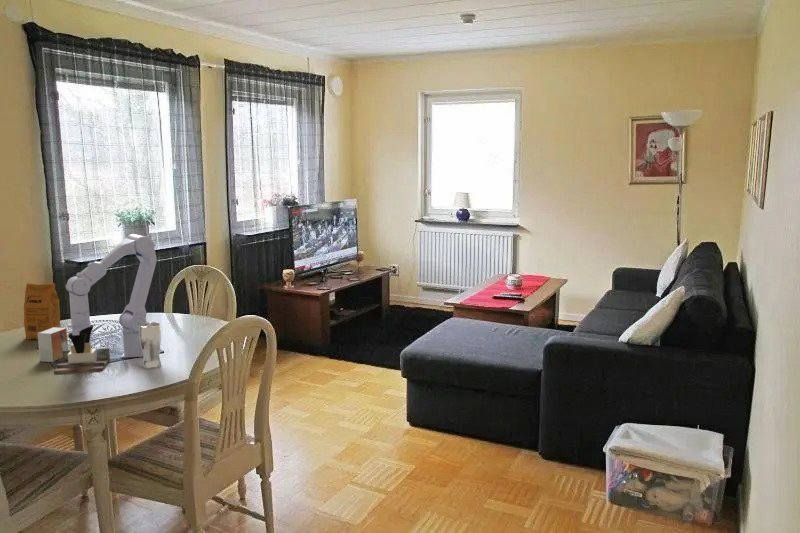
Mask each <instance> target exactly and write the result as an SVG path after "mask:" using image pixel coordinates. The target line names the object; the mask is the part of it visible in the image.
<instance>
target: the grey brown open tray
mask: <svg viewBox="0 0 800 533" xmlns="http://www.w3.org/2000/svg"><path fill="white" fill-rule="evenodd" d="M91 349H96V351H97V360H96V362H86V363H68V353H69V352H70V351H71V349H68V350H63V358H62V361H61V362H60V363H57V364H56V368H55V369H54V370H53V373H54V374H56V375H57V374H71V373H91V372H103V371H104V369H105V368H106V367H107V365H108V363H110V360H111V354H110V347H100V348H99V347H98V348H97V347H96V348H94V347H93V348H92V347H91Z"/></svg>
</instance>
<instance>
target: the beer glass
mask: <svg viewBox="0 0 800 533" xmlns="http://www.w3.org/2000/svg"><path fill="white" fill-rule="evenodd" d="M139 326H140V327H139V338H140V345H141V349H142V353H143V357H142V358H143V360H142V368H143V369H145V370H152V369H153V370H154V369H158V368H161V367H162V361H161V358H160V353H161V352H160V351H161V345H162V332H161V331H162V330H161V323H159V322H156V321H149V322H148V321H147V323H142V324H140V325H139Z"/></svg>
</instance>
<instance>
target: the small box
mask: <svg viewBox="0 0 800 533" xmlns="http://www.w3.org/2000/svg"><path fill="white" fill-rule="evenodd" d="M67 333H68V331H67V327H61V328H56V327H53V328H51V329H48V330H45V331H42V332H39V333H37V334H38V340H37V343H38V346H37V347H38V355H39V362H47V363H54V361H55V362H56V360H57V361H59V360H61V359H60V358H62V359H63V350H69V347H68V334H67ZM58 359H59V360H58Z"/></svg>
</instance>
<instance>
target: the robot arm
mask: <svg viewBox="0 0 800 533" xmlns="http://www.w3.org/2000/svg"><path fill="white" fill-rule="evenodd" d="M155 246H156V244H155V242H154V241H153V240H152V238H150V237H149V236H145V235H139V234H137V233H131V234H128V235H127V237H126V238H124V239H122V240H121V241H120V242H119V244H117V245H116V246H115V247H114V248H113V249H112V250H110V251H109V253H107V254H106V255H105V256H104V257H103V258H102V259H101V260H100V261H93V262H89V263H87V266H86V267H85V268H84V269H83V270H82V271H80V272H77V273H76V276H72V277H70V278H69V279H68V280H67V282H66V284H65V286H64V287H65V289H66V291H68V295H69V308H70V309H69V310H70V321H71V322H70V323H68V324H67V328H71V332H70V333H68V338H69V339H70V340H71V343H72V344H73V345H74V347H75V350H76V353H84V346H85V343H91V342H90V341H91V340H90V339H91V335H92V331H93V329H94V325H93V324H92V325H91V318H90V317H91V316H90V305H89V296H88V293H89V292H90V290H91V287H92V286H94V284H96V283H97V282H98V281H99V280H101V279H102V278H103V277H104V276H105V275H106V274H107V272H108V271H107V270H108V269H109V268H110V267H111V266H112V265H114V264H115V263H116V262H118V261H119V260H120V259H122V258H123V257H124V256H126V255H127V256H128V255H135V256H136V258H137V259H138V261H139V266H138V269H137V273H136V277H135V280H134V284H133V288H132V291H131V295H130V297H129V301H128V304H127V305H126V306H124V309H123V312H122V313H121V314H120V316H119V319H118V321H119V322H118V323H119V324H120V326H122V328H123V329H122V340H123V341H122V343H123V353H122V355H121V356H120V357H121V358H123V359H124V358H139V357H142V358H143V353H142V349H141V345H140V338H139V327H140V326H139V325H140V324H142V323H147V322H148V321H147V311H146V310H147V309H146V307H145V305H146V302H147V298H148V295H149V291H150V287H151V284H152V280H153V276H154V273H155V270H156V269H155V268H156V266H157V260H158V259H157V255H156V254H157V253H156V249H155Z"/></svg>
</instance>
